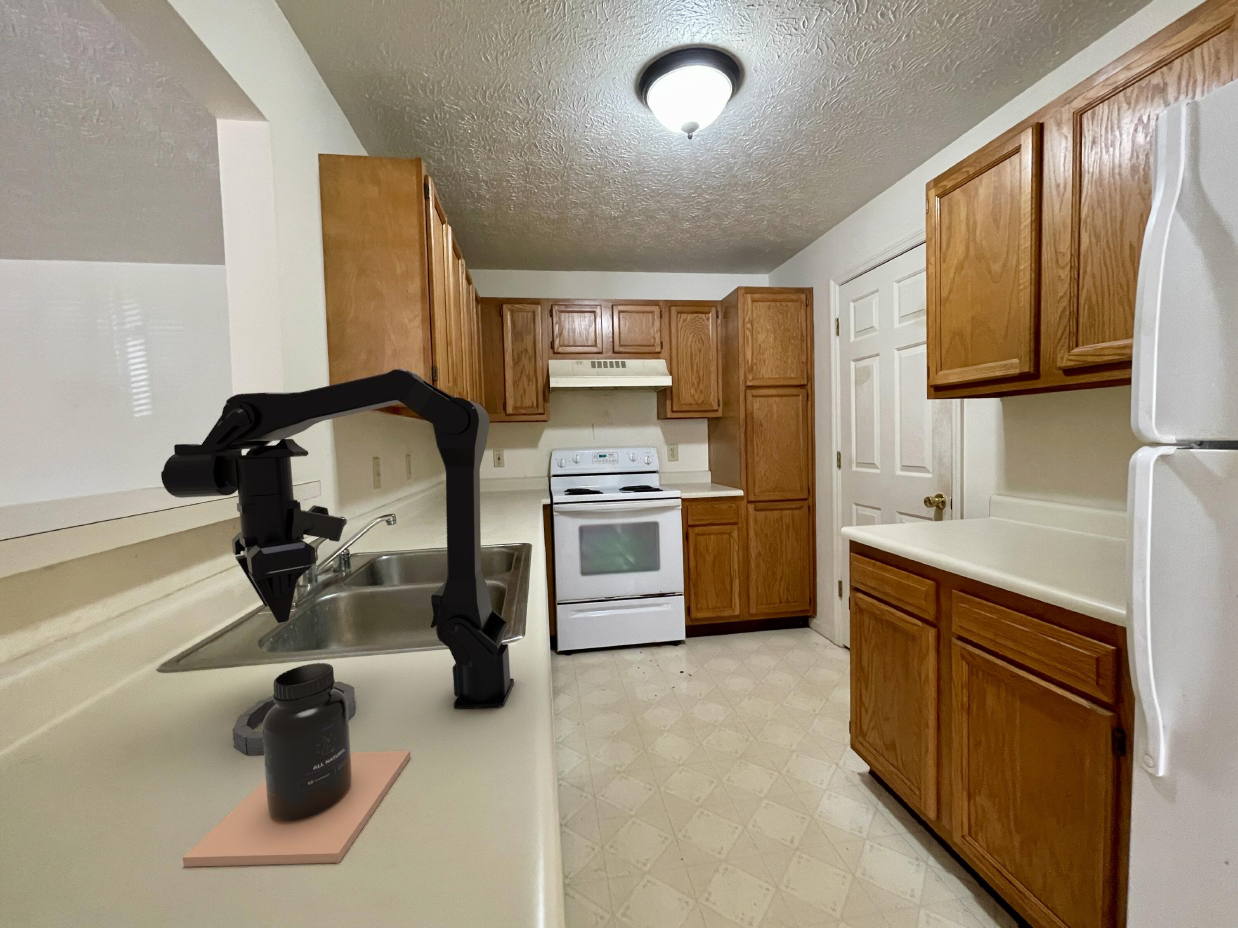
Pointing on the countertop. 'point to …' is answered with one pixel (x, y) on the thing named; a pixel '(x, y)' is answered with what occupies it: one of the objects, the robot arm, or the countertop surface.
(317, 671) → the supplement bottle
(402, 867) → the countertop surface
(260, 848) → the tile
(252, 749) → the collar
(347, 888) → the countertop surface
